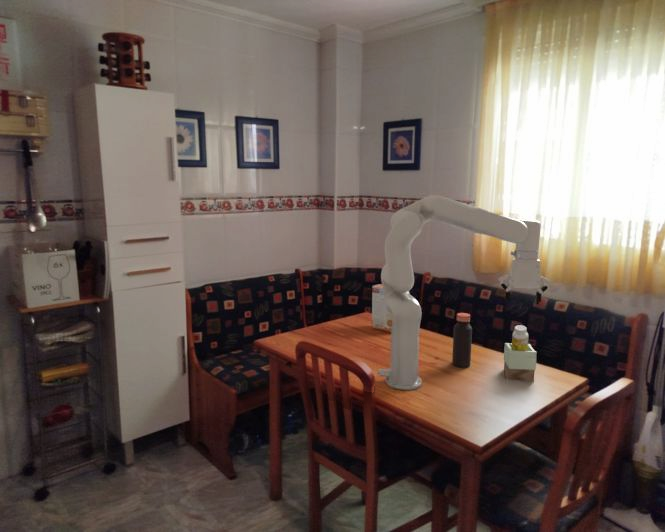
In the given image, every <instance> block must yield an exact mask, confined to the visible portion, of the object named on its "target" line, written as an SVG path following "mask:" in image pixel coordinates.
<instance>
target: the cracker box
mask: <svg viewBox="0 0 665 532" xmlns="http://www.w3.org/2000/svg"><path fill="white" fill-rule="evenodd" d="M371 287H372V289H371V290H372V293H371V295H372V298H371V299H372V300H371V328H372V329H375V330H379V331H382V332H383V331H384V332H387V333H391V329H392V323H393V316H392V314H391V313H390V312H389V311H388V309H387V307H386V305H385V300H384V294H383V288H382V283H379V284H375V285H372V286H371Z"/></svg>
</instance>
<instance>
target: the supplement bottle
mask: <svg viewBox="0 0 665 532" xmlns="http://www.w3.org/2000/svg"><path fill="white" fill-rule="evenodd" d="M527 330H528V329H527V327H526V326H525V325H522V324H520V325H519V324H518V325H515V326H514V331H513V332H512V334H511V336H512V337H511V339H512V340H511V343H512V350H516V351H528V344H529V333H528V331H527Z"/></svg>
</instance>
